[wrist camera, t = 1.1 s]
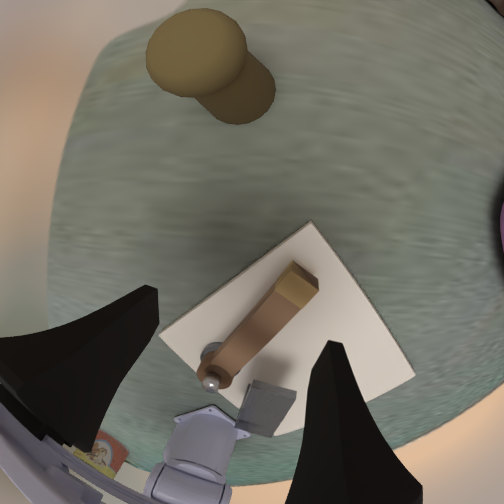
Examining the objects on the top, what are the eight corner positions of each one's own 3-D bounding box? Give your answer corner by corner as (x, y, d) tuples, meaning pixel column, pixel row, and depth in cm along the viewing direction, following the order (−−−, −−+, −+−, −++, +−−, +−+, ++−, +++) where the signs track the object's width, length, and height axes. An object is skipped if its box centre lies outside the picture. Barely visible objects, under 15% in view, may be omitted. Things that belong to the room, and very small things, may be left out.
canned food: (131, 447, 45) (109, 483, 34) (127, 458, 49) (109, 489, 38) (90, 421, 45) (66, 454, 34) (91, 435, 49) (71, 464, 38)
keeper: (197, 377, 29) (181, 409, 24) (206, 332, 26) (187, 365, 21) (277, 402, 28) (271, 437, 23) (299, 360, 25) (295, 399, 20)
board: (276, 430, 32) (275, 436, 31) (162, 330, 29) (158, 335, 28) (413, 369, 24) (415, 375, 24) (311, 220, 22) (311, 222, 21)
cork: (291, 82, 18) (275, 18, 8) (245, 138, 20) (189, 122, 10) (232, 47, 18) (177, -18, 8) (190, 101, 20) (107, 70, 10)
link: (225, 381, 27) (220, 394, 25) (197, 363, 27) (190, 375, 25) (323, 282, 21) (324, 294, 19) (287, 256, 21) (285, 266, 19)
